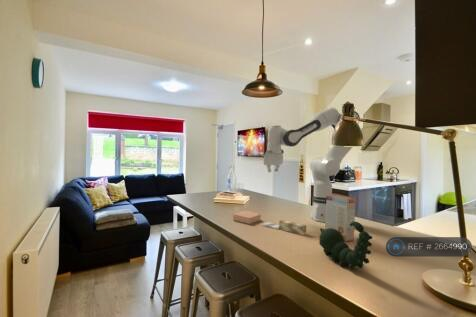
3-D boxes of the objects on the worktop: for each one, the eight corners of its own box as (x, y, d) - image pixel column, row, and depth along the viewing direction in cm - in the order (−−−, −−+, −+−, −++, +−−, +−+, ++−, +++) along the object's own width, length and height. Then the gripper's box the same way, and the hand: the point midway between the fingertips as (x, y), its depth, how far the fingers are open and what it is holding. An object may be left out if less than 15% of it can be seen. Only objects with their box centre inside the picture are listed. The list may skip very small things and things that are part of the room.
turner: (307, 232, 127) (307, 224, 127) (302, 235, 122) (302, 227, 122) (267, 223, 141) (267, 215, 141) (262, 225, 137) (262, 217, 137)
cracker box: (354, 240, 118) (356, 198, 117) (344, 242, 115) (347, 198, 115) (333, 231, 131) (335, 192, 130) (324, 232, 128) (326, 193, 128)
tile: (260, 214, 148) (244, 210, 155) (249, 218, 138) (233, 214, 145) (260, 220, 148) (244, 216, 155) (249, 224, 138) (233, 220, 145)
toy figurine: (373, 278, 86) (326, 245, 109) (380, 227, 84) (331, 204, 107) (352, 282, 83) (309, 247, 106) (359, 229, 80) (313, 205, 104)
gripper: (270, 150, 147) (269, 173, 148) (285, 151, 164) (284, 171, 164) (261, 150, 151) (260, 172, 152) (276, 150, 168) (275, 170, 168)
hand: (273, 171), depth 158 cm, fingers open, 8 cm apart
